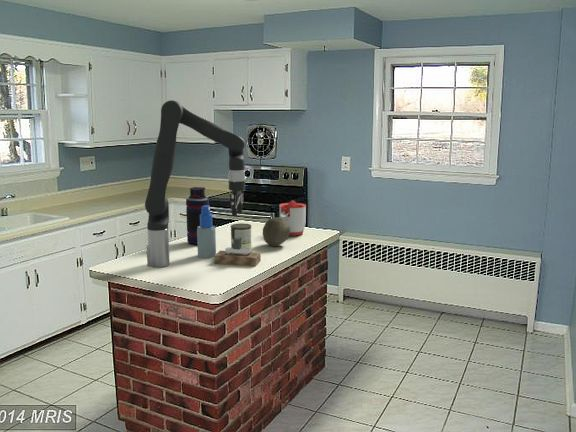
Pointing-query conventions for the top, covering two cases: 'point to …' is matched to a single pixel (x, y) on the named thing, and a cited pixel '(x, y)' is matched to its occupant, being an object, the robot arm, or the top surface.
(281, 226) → the cantaloupe
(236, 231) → the coffee can
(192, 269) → the top surface
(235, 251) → the clip
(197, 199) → the dark navy bottle
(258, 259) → the wooden block with holes
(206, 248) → the spray bottle
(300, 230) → the citrus juicer
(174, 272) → the top surface
